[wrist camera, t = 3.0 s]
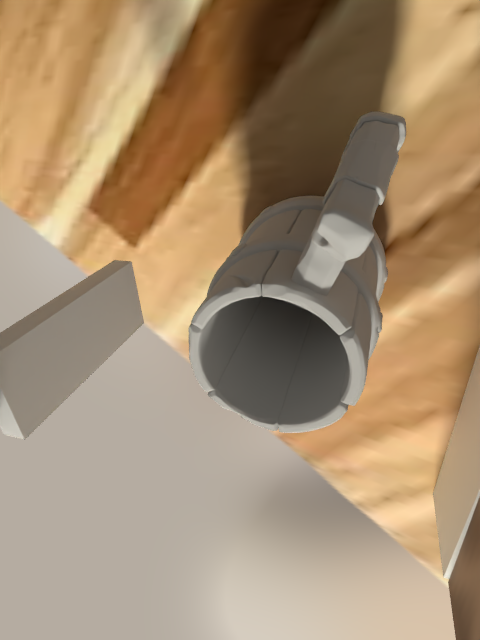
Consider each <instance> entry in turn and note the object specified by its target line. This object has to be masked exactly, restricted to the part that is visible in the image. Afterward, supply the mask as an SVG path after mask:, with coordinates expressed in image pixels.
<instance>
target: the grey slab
mask: <svg viewBox="0 0 480 640" xmlns="http://www.w3.org/2000/svg"><path fill="white" fill-rule="evenodd" d="M479 497H480V346H479V349H478V352H477V356H476V359H475V362H474V365H473V368H472V371H471V375H470V378H469V381H468V384H467V387H466V390H465V394H464V397H463V400H462V403H461V406H460V409H459V413H458V416H457V419H456V422H455V425H454V428H453V432H452V435H451V438H450V441H449V444H448V447H447V451H446V454H445V457H444V460H443V463H442V466H441V470H440V473H439V476H438V479H437V482H436V485H435V489H434V492H433V498H434V506H435V514H436V522H437V530H438V538H439V546H440V554H441V562H442V570H443V577H444V578H448V579H450V576H451V573H452V571H453V568H454V565H455V562H456V560H457V557H458V554H459V551H460V549H461V546H462V543H463V540H464V538H465V535H466V532H467V530H468V527H469V524H470V521H471V519H472V516H473V513H474V510H475V508H476V505H477V502H478V499H479Z"/></svg>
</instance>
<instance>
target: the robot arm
mask: <svg viewBox="0 0 480 640" xmlns="http://www.w3.org/2000/svg"><path fill="white" fill-rule="evenodd" d="M143 323H144V321H143V316H142V311H141V306H140V301H139V296H138V291H137V286H136V281H135V276H134V272H133V267H132V262H130V261H117V260H114V261H113V262H111V263H109V264H108V265H106V266H105V267H103V268H102V269H100V270H98V271H97V272H95V273H94V274H92V275H91V276H89V277H87V278H86V279H84V280H83V281H81V282H80V283H78V284H76V285H75V286H73V287H72V288H70V289H69V290H67V291H66V292H64V293H62V294H61V295H59V296H58V297H56V298H54V299H53V300H51V301H50V302H48V303H47V304H45V305H43V306H42V307H40V308H39V309H37V310H36V311H34V312H33V313H31V314H29V315H28V316H26V317H24V318H23V319H22V320H20V321H18V322H17V323H15V324H13V325H12V326H10V327H9V328H7V329H6V330H4V331H3V332H1V333H0V428H1V430H2V432H3V434H4V435H8V436H12V437H16V438H20V439H24V440H25V439H26V438H27V437H28V436H29V435H30V434H31V433H32V432H33V431H34V430H35V429H36V428H37V427H38V426H39V425H40V424H41V423H42V422H43V421H44V420H45V419H46V418H47V417H48V416H49V415H50V414H51V413H52V412H53V411H54V410H56V409H57V408H58V407H59V406H60V405H61V404H62V403H63V402H64V401H65V400H66V399H67V398H68V397H69V396H70V395H71V394H72V393H73V392H74V391H75V390H76V389H77V388H78V387H79V386H80V385H81V384H82V383H83V382H84V381H85V380H86V379H87V378H88V377H89V376H90V375H91V374H92V373H93V372H94V371H95V370H96V369H97V368H98V367H99V366H100V365H101V364H102V363H104V361H105V360H107V359H108V357H110V356H111V355H112V354H113V353H114V352H115V351H116V350H117V349H118V348H119V347H120V346H121V345H122V344H123V343H124V342H125V341H126V340H127V339H128V338H129V337H130V336H131V335H132V334H133V333H134V332H135V331H136V330H137V329H138V328H139V327H140V326H141V325H142V324H143Z"/></svg>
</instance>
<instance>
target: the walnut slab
mask: <svg viewBox="0 0 480 640" xmlns="http://www.w3.org/2000/svg"><path fill="white" fill-rule="evenodd" d="M448 583H449V591H450V598H451V605H452V613H453V621H454V628H455V635H456V640H480V497H479V499H478V502H477V505H476V508H475V510H474V513H473V516H472V519H471V521H470V524H469V527H468V530H467V532H466V535H465V538H464V540H463V543H462V546H461V549H460V551H459V554H458V557H457V560H456V562H455V565H454V568H453V571H452V573H451V576H450V579H449V582H448Z"/></svg>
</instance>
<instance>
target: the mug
mask: <svg viewBox="0 0 480 640" xmlns="http://www.w3.org/2000/svg"><path fill="white" fill-rule="evenodd" d="M405 137H406V122H405V119H404V118H403V117H401V116H398V115H393V114H389V113H384V112H379V111H377V112H369V113H367V114H364V115H362V116H361V117H360V118H359V120H358V121H357V123H356V125H355V127H354V129H353V130H352V132H351V134H350V137H349V141H348V143H347V145H346V147H345V149H344V152H343V155H342V157H341V160H340V164H339V166H338V169H337V171H336V173H335V176H334V178H333V180H332V182H331V185H330V186H329V188H328V190H327V192H326V194H325V196H324V197H323V196H298V197H293V198H289V199H285V200H283V201H280V202H278V203H276V204H274V205H272V206H269V207H267V208H265V209H264V210H263V211H262V212H261V213H260V215H259V216H258V217H257V218H256V219H255V220H254V221H253V222H252V223H251V224H250V225H249V227H248V228H247V230H246V231H245V233H244V235H243V237H242V239H241V241H240V243H239V246H237V247H236V248H235V249H234V250H233V251H232V253H231V254H230V256H229V257H228V258H227V259H226V261H225V262H224V263H223V264H222V266H221V267H220V268H219V270H218V271H217V272H216V274H215V276H214V278H213V279H212V282H211V284H210V287H209V290H208V293H207V297H206V299H205V300H204V301H203V303H202V304H201V306H200V307H199V308H198V310H197V311H196V313H195V315H194V317H193V319H192V321H191V325H190V326H189V359H190V362H191V366H192V369H193V371H194V374H195V377H196V379H197V381H198V383H199V384H200V386H201V388H202V389H203V390H204V391H205V392H208V396H209V397H210V398H212V399H213V400H214V401H216V402H217V403H218V404H219V405H220V406H221V407H222V408H223V409H226V410H231V411H233V412H235V413H237V414H240V415H241V417H242V418H243V419H246V420H247V421H249V422H251V423H252V424H253V425H255V426H258V427H262V428H265V429H268V430H271V431H276V430H278V428H279V431H280V432H284V433H300V432H308V431H313V430H317V429H321V428H324V427H326V426H329V425H331V424H333V423H334V422H336V421H338V420H339V419H340V418H341V417H342V416H343V415H344V414H345V412H347V410H348V405H353V406H354V405H355V404H356V403H357V401H358V399H359V398H360V396H361V393H362V391H363V389H364V385H365V381H366V375H367V367H368V360H369V358H370V357H371V355H372V353H373V351H374V349H375V346H376V343H377V340H378V337H379V334H378V333H380V332H381V330H382V317H383V316H382V313H381V312H380V307H379V304H378V301H379V299H380V297H381V294H382V292H383V289H384V283H385V282H386V280H387V276H388V270H387V267H386V258H385V252H384V248H383V245H382V243H381V240H380V239H379V237H378V235H377V233H376V231H375V230H374V228H373V225H372V222H373V219H374V215H375V212H376V209H377V207H378V205H379V204H380V205H382V204H383V202H384V199H385V196H386V192H387V189H388V185H389V181H390V178H391V176H392V174H393V171H394V169H395V167H396V164H397V162H398V158H399V156H398V151H399V150H400V148H401V146H402V144H403V142H404V140H405Z"/></svg>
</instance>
